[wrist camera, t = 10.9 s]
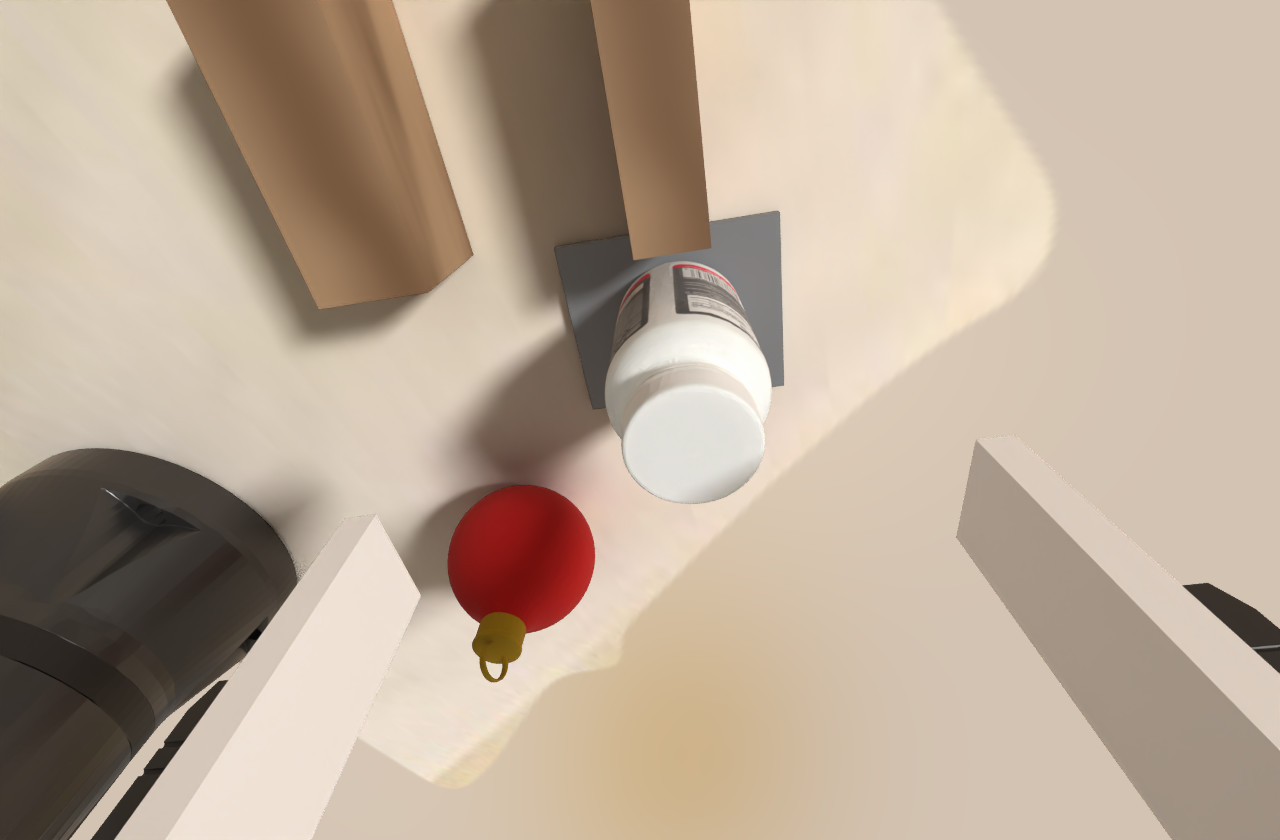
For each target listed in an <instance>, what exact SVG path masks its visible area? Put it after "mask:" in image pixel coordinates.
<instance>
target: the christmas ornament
mask: <svg viewBox="0 0 1280 840" xmlns="http://www.w3.org/2000/svg"><path fill="white" fill-rule="evenodd" d="M594 564H595V547H594V541H593V537H592V533H591V530H590V528H589V525H588V523H587V521H586V519H585V518H584V516H583V515H582V513H581V512H580V511H579V510H578V508H577V507H576V506H575V505H574V504H573V503H572V502H571V501H569V500H568V499H567V498H565V497H564V496H562V495H560V494H558V493H557V492H555V491H552V490H549V489H547V488H543V487H539V486H531V485H519V486H512V487H507V488H504V489H501V490H498V491H495V492H493V493H491V494H489V495H487V496H486V497H484V498H483V499H481V500H480V501H478V502H477V503H476V504H475V505H474V506H473V507H472V508H471V509H470V510H469V511H468V512H467V513H466V514H465V515H464V517H463V518H462V520H461V521H460V523H459V524H458V526H457V528H456V530H455V532H454V534H453V537H452V540H451V543H450V547H449V553H448V575H449V580H450V584H451V587H452V590H453V592H454V594H455V596H456V598H457V600H458V602H459V603H460V605H461V606H462V607H463V609H464V610H465V611H466V612H467V613H468V614H469V615H470V616H471V617H472V618H473V619H475V620H476V621H477V622H479V623H480V625H479V628H478V631H477V634H476V637H475V638H474V640H473V642H472V648H473V650H474V652H475V653H476V654H477V655H478V656H479V657H480V668H481V671H482V674H483V676H484V677H485V678H486V679H487V680H488V681H490V682H498V681H500V680H502V679H503V678H504V677H505V675H506V672H507V669H508V663H510V662H513V661H515V660H517V659H518V658H519V656H520V655H521V652H522V644H523V641H524V637H525V634H526V633H531V632H536V631H540V630H542V629H545V628H547V627H549V626H551V625H554V624H555V623H557V622H558V621H560V620H561V619H563V618H564V617H565V616H566V615H568V614H569V613H570V612H571V611H572V610H573V609H574V608H575V607H576V605H577V604H578V603H579V602H580V600H581V599H582V597H583V596H584V594H585V592H586V590H587V588H588V586H589V584H590V581H591V578H592V574H593V570H594ZM485 661H487V662H491V663H496V664H502V666H503V667H502V673H501V675H500V677H499V678H498V679H494V678H492V677H491V675H490V674H489V672H488V670H487V667H486V662H485Z"/></svg>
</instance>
